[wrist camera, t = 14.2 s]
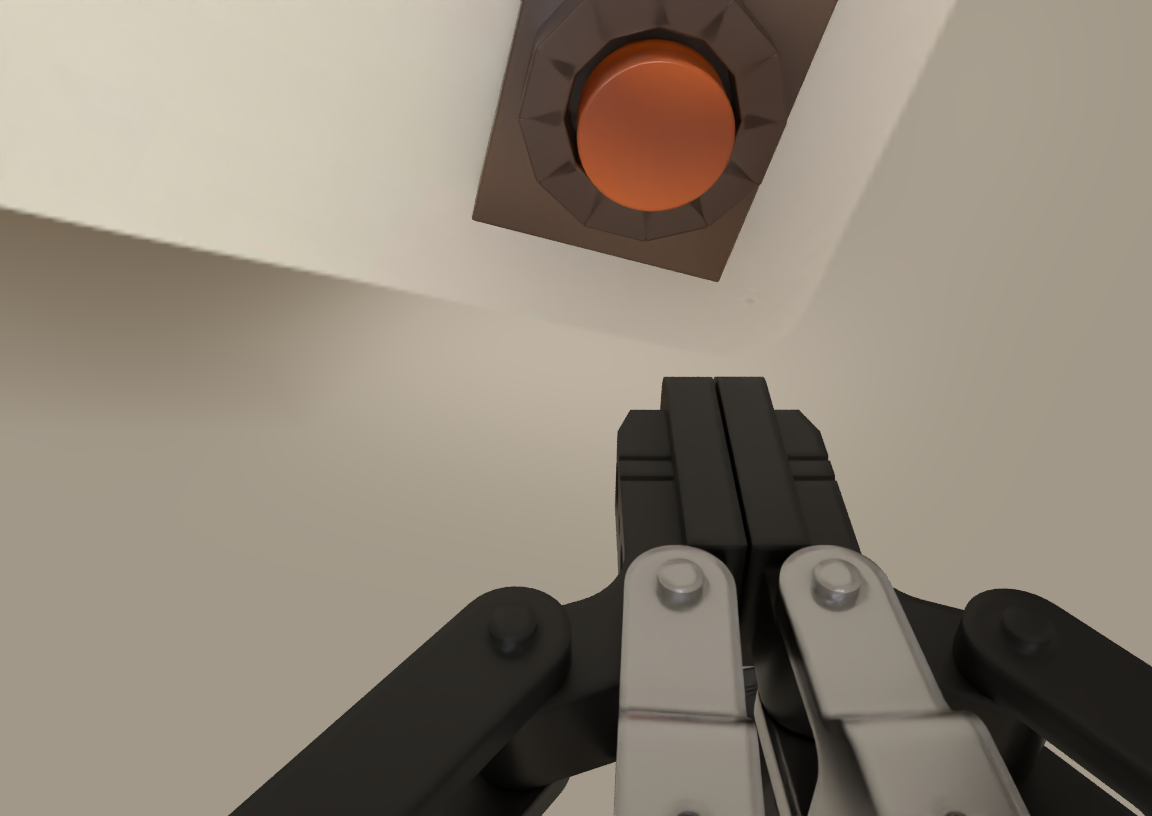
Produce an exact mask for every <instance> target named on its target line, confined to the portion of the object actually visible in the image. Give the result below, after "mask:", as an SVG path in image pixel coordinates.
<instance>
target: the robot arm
mask: <svg viewBox="0 0 1152 816" xmlns="http://www.w3.org/2000/svg"><path fill="white" fill-rule="evenodd" d="M615 492H616V494H615V516H616V532H617V535H616V536H617V551H618V576H617V577H616V579H615V580H614V581H613V582H612V583H611V584H610V585H609V586H608V587H607V588H605V589H604V590H602V591H601V592H600V593H597V594H595V595H594V596H591V597H589V598H586V599H583V600H580V601H577V602H572V603H569V604H566V605H561V604H560V603H559V602H558V601H557V600H556V599H554V598H553V597H551V596H550V595H548V594H546V593H544V592H542V591H539V590H536V589H533V588H527V587H504V588H499V589H495V590H492V591H490V592H487V593H485V594H483V595H481V596H479V597H477V598H476V599H475V600H474V601H472V602H471V603H469V604H468V605H467V606H466V607H465V608H464V609H463V610H461V611H460V612H459V613H458V614H457V615H456V616H455V617H454V618H453V619H451V620H450V621H449V622H448V623H447V624H446V625H444V626H443V627H442V628H441V629H440V630H439V631H438V632H436V633H435V634H434V635H433V636H432V637H431V638H430V639H429V640H427V641H426V642H425V643H424V644H423V645H422V646H421V647H419V648H418V649H417V650H416V651H415V652H414V653H413V654H411V655H410V656H409V657H408V658H407V659H406V660H405V661H403V662H402V663H401V664H400V665H399V666H398V667H397V668H396V669H394V670H393V671H392V672H391V673H390V674H389V675H388V676H387V677H385V678H384V679H383V680H382V681H381V682H380V683H378V684H377V685H376V686H375V687H374V688H373V689H372V690H371V691H370V692H368V693H367V694H366V695H365V696H364V697H363V698H361V699H360V700H359V701H358V702H357V703H356V704H355V705H353V706H352V707H351V708H350V709H349V710H348V711H347V712H345V713H344V714H343V715H342V716H341V717H340V718H339V719H338V720H336V721H335V722H334V723H333V724H332V725H331V726H330V727H328V728H327V729H326V730H325V731H324V732H323V733H322V734H321V735H319V736H318V737H317V738H316V739H315V740H314V741H313V742H312V743H310V744H309V745H308V746H307V747H306V748H305V749H303V750H302V751H301V752H300V753H299V754H298V755H297V756H295V757H294V758H293V759H292V760H291V761H290V762H289V763H288V764H286V765H285V766H284V767H283V768H282V769H281V770H280V771H278V772H277V773H276V774H275V775H274V776H273V777H272V778H270V779H269V780H268V781H267V782H266V783H265V784H264V785H263V786H261V787H260V788H259V789H258V790H257V791H256V792H255V793H253V794H252V795H251V796H250V797H249V798H248V799H247V800H245V801H244V802H243V803H242V804H241V805H240V806H239V807H237V808H236V809H235V810H234V811H233V812H232V813H231V814H229V815H228V816H542V814H543V813H544V812H545V811H546V810H547V809H548V807H549V806H550V805H551V804H552V803H553V801H554V800H555V799H556V798H557V797H558V796H559V794H560V793H561V792H562V790H563V789H564V788H565V786H566V784H567V782H568V780H569V777H571V776H574V775H577V774H579V773H583V772H586V771H589V770H592V769H595V768H598V767H601V766H604V765H607V764H610V763H613V762H616V774H615V798H614V816H1137V815H1136V814H1134V813H1133V812H1132V811H1130V810H1129V809H1128V808H1127V807H1125V806H1124V805H1123V804H1121V803H1120V802H1119V801H1117V800H1116V799H1115V798H1113V797H1112V796H1111V795H1109V794H1108V793H1106V792H1105V791H1104V790H1102V789H1101V788H1100V787H1099V786H1097V785H1096V784H1095V783H1093V782H1092V781H1091V780H1089V779H1088V778H1087V777H1085V776H1084V775H1083V774H1081V773H1080V772H1079V771H1077V770H1076V769H1075V768H1073V767H1072V766H1071V765H1069V764H1068V763H1067V762H1065V761H1064V760H1063V759H1061V758H1060V757H1059V756H1057V755H1056V754H1055V753H1053V752H1052V751H1051V750H1049V749H1048V748H1047V747H1045V746H1044V744H1045V742H1046V740H1047V741H1048V742H1050V743H1051V744H1052V745H1054V746H1055V747H1056V748H1058V749H1059V750H1060V751H1062V752H1063V753H1064V754H1066V755H1067V756H1068V757H1070V758H1071V759H1073V760H1074V761H1075V762H1077V763H1078V764H1079V765H1080V766H1082V767H1083V768H1084V769H1086V770H1087V771H1089V772H1090V773H1091V774H1093V775H1094V776H1095V777H1097V778H1098V779H1099V780H1101V781H1102V782H1103V783H1105V784H1106V785H1107V786H1109V787H1110V788H1111V789H1113V790H1114V791H1115V792H1117V793H1118V794H1119V795H1121V796H1122V797H1123V798H1125V799H1126V800H1127V801H1129V802H1130V803H1131V804H1133V805H1134V806H1135V807H1136V808H1138V809H1139V810H1140V811H1141V812H1142V813H1143V814H1144V815H1145V816H1152V667H1151V666H1150V665H1148V664H1147V663H1145V662H1144V661H1142V660H1141V659H1139V658H1137V657H1136V656H1134V655H1133V654H1131V653H1130V652H1128V651H1127V650H1125V649H1124V648H1122V647H1120V646H1119V645H1117V644H1116V643H1114V642H1113V641H1111V640H1109V639H1108V638H1106V637H1105V636H1103V635H1102V634H1100V633H1099V632H1097V631H1096V630H1094V629H1092V628H1091V627H1089V626H1088V625H1086V624H1085V623H1083V622H1082V621H1080V620H1079V619H1077V618H1075V617H1074V616H1072V615H1071V614H1069V613H1068V612H1066V611H1065V610H1063V609H1062V608H1060V607H1058V606H1057V605H1055V604H1053V603H1052V602H1050V601H1048V600H1046V599H1044V598H1042V597H1040V596H1037V595H1035V594H1031V593H1028V592H1025V591H1021V590H1016V589H993V590H987V591H985V592H982V593H979V594H978V595H976V596H975V597H973V598H972V599H971V600H970V601H969V602H968V604H967V606H966V607H965V610H961V609H957V608H953V607H949V606H945V605H941V604H937V603H933V602H929V601H926V600H921V599H919V598H915V597H912V596H909V595H907V594H905V593H903V592H901V591H899V590H897V589H895V588H893V587H892V585H891V582H890V581H889V579H888V577H887V575H886V574H885V573H884V572H883V570H882V569H881V568H880V567H879V566H878V565H877V564H876V563H874V562H873V561H872V560H870V559H869V558H867V557H866V556H864V555H862V554H861V552H860V548H859V545H858V542H857V539H856V536H855V534H854V530H853V527H852V525H851V522H850V519H849V516H848V513H847V510H846V507H845V504H844V501H843V498H842V495H841V492H840V490H839V486H838V483H837V481H835V474H834V471H833V469H832V465H831V462H830V461H828V453H827V451H826V448H825V445H824V442H823V439H822V436H821V433H820V431H819V430H818V429H817V428H816V427H815V426H814V425H813V424H812V423H811V422H810V421H809V420H808V419H807V418H806V417H805V416H804V415H803V414H802V413H801V412H800V410H774V408H773V405H772V401H771V398H770V394H769V391H768V387H767V383H766V381H765V378H764V377H714V379H713V378H712V377H664V378H663V382H662V393H661V407H660V410H630V411H629V413H628V415H627V417H626V418H625V420H624V421H623V423H622V425H621V427H620V428H619V430H618V436H617V463H616V491H615Z"/></svg>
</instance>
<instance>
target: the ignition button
mask: <svg viewBox="0 0 1152 816" xmlns="http://www.w3.org/2000/svg"><path fill="white" fill-rule="evenodd" d="M734 141H735V119H734V114H733V110H732V107H731V104H730V102H729V99H728V97H727V94H726V91H725V89H724V86H723V84H722V81H721V79H720V77H719V75H718V73H717V71H716V70H715V69H714V67H713V66H712V65H711V63H710V62H709V61H708V60H707V59H706V58H705V57H704V56H702V55H701V54H700V53H698V52H697V51H696V50H694V49H692V48H690V47H689V46H687V45H684V44H682V43H679V42H676V41H671V40H666V39H646V40H641V41H636V42H633V43H630V44H627V45H625V46H623V47H621V48H618V49H617V50H615V51H614V52H612V53H610V54H609V55H608V56H607V57H605V58H604V59H603V60H602V61H601V62H600V63H599V64H598V65H597V66H596V67H595V68H594V70H593V71H592V72H591V74H590V75H589V77H588V78H587V80H586V82H585V84H584V86H583V89H582V92H581V94H580V98H579V103H578V110H577V145H578V152H579V157H580V160H581V163H582V166H583V168H584V170H585V172H586V174H587V176H588V177H589V179H590V180H591V182H592V183H593V184H594V185H595V186H596V188H597V189H598V190H599V191H600V192H602V193H603V194H604V195H605V196H606V197H608V198H610V199H611V200H613V201H614V202H616V203H618V204H620V205H623V206H625V207H628V208H631V209H636V210H641V211H664V210H669V209H673V208H677V207H680V206H683V205H685V204H687V203H689V202H691V201H693V200H695V199H696V198H698V197H699V196H701V195H702V194H703V193H705V192H706V191H707V190H708V189H709V188H710V187H711V186H712V185H713V184H714V183H715V182H716V181H717V180H718V178H719V177H720V176H721V174H722V173H723V171H724V170H725V168H726V166H727V164H728V162H729V160H730V157H731V154H732V151H733V147H734Z"/></svg>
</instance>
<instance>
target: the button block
mask: <svg viewBox="0 0 1152 816" xmlns="http://www.w3.org/2000/svg"><path fill="white" fill-rule="evenodd" d="M837 1H838V0H521V4H520V9H519V13H518V17H517V22H516V26H515V30H514V35H513V39H512V43H511V48H510V52H509V56H508V61H507V65H506V69H505V74H504V78H503V82H502V87H501V91H500V95H499V100H498V104H497V108H496V112H495V117H494V121H493V125H492V130H491V134H490V138H489V143H488V147H487V151H486V156H485V160H484V164H483V169H482V173H481V177H480V182H479V186H478V190H477V195H476V200H475V205H474V210H473V215H472V220H475V221H478V222H482V223H486V224H490V225H494V226H498V227H502V228H506V229H510V230H514V231H518V232H522V233H526V234H530V235H534V236H538V237H542V238H546V239H549V240H553V241H557V242H561V243H565V244H569V245H573V246H577V247H581V248H585V249H589V250H593V251H597V252H601V253H605V254H609V255H613V256H616V257H620V258H624V259H628V260H632V261H636V262H640V263H644V264H648V265H652V266H656V267H660V268H664V269H668V270H672V271H676V272H680V273H683V274H687V275H691V276H695V277H699V278H703V279H707V280H711V281H715V282H718V281H719V280H720V277H721V275H722V272H723V270H724V268H725V265H726V263H727V261H728V258H729V256H730V254H731V251H732V249H733V247H734V244H735V242H736V239H737V237H738V235H739V232H740V230H741V228H742V225H743V223H744V221H745V218H746V216H747V213H748V211H749V209H750V206H751V204H752V202H753V199H754V197H755V195H756V192H757V190H758V187H759V185H760V184H761V183H762V180H763V178H764V176H765V173H766V171H767V169H768V166H769V164H770V162H771V159H772V157H773V155H774V152H775V150H776V147H777V145H778V143H779V140H780V138H781V136H782V133H783V131H784V129H785V126H786V124H787V119H788V117H789V114H790V112H791V110H792V107H793V105H794V102H795V100H796V98H797V95H798V93H799V91H800V88H801V86H802V84H803V81H804V79H805V77H806V74H807V72H808V69H809V67H810V65H811V62H812V60H813V58H814V55H815V53H816V51H817V48H818V46H819V43H820V41H821V39H822V36H823V34H824V32H825V29H826V27H827V25H828V22H829V20H830V18H831V15H832V13H833V10H834V8H835V6H836V3H837ZM646 39H666V40H671V41H676V42H679V43H682V44H684V45H687V46H689V47H690V48H692V49H694V50H696V51H697V52H698V53H700V54H701V55H702V56H704V57H705V58H706V59H707V60H708V61H709V62H710V63H711V65H712V66H713V67H714V69H715V70H716V71H717V73H718V75H719V77H720V79H721V81H722V84H723V86H724V89H725V91H726V94H727V97H728V99H729V102H730V104H731V107H732V110H733V114H734V119H735V141H734V147H733V151H732V154H731V157H730V160H729V162H728V164H727V166H726V168H725V170H724V171H723V173H722V174H721V176H720V177H719V178H718V180H717V181H716V182H715V183H714V184H713V185H712V186H711V187H710V188H709V189H708V190H707V191H706V192H705V193H703V194H702V195H701V196H699V197H698V198H696V199H695V200H693V201H691V202H689V203H687V204H685V205H683V206H680V207H677V208H673V209H669V210H664V211H641V210H636V209H631V208H628V207H625V206H623V205H620V204H618V203H616V202H614V201H613V200H611V199H610V198H608V197H606V196H605V195H604V194H603V193H602V192H600V191H599V190H598V189H597V188H596V186H595V185H594V184H593V183H592V182H591V180H590V179H589V177H588V176H587V174H586V172H585V170H584V168H583V166H582V163H581V160H580V157H579V152H578V145H577V110H578V103H579V98H580V94H581V92H582V89H583V86H584V84H585V82H586V80H587V78H588V77H589V75H590V74H591V72H592V71H593V70H594V68H595V67H596V66H597V65H598V64H599V63H600V62H601V61H602V60H603V59H604V58H605V57H607V56H608V55H609V54H610V53H612V52H614V51H615V50H617V49H618V48H621V47H623V46H625V45H627V44H630V43H633V42H636V41H641V40H646Z"/></svg>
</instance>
